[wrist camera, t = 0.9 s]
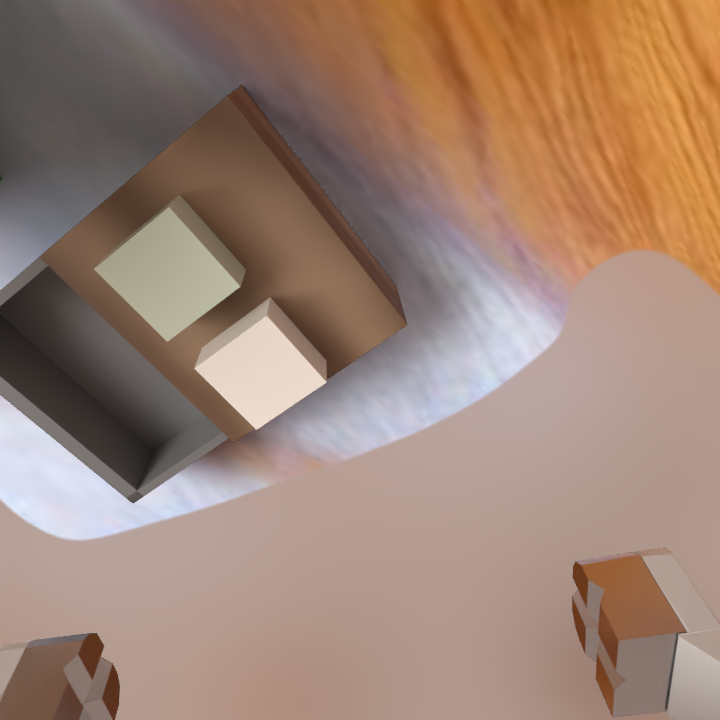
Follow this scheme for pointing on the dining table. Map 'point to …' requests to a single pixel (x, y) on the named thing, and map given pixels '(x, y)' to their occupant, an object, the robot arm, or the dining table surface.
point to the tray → (94, 387)
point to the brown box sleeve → (240, 251)
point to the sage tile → (172, 269)
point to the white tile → (262, 364)
